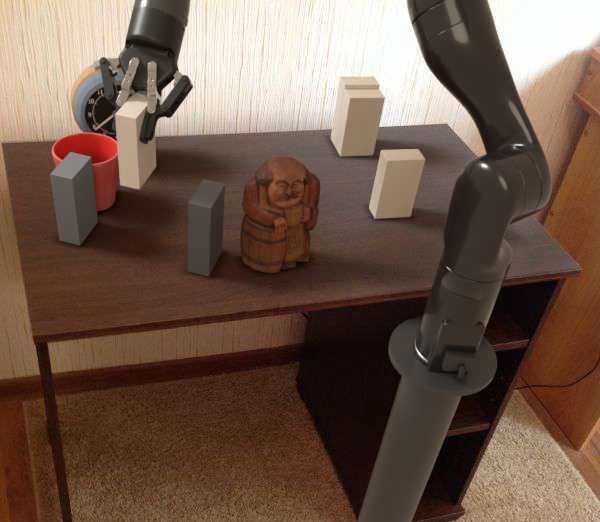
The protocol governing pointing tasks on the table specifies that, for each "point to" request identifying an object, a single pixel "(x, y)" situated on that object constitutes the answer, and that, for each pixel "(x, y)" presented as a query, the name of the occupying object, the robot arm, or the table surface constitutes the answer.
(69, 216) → the pair of grey blocks
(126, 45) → the robot arm
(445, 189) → the table surface
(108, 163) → the flower pot
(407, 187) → the cream books
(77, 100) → the alarm clock
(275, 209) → the wooden figurine
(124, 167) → the beige block
